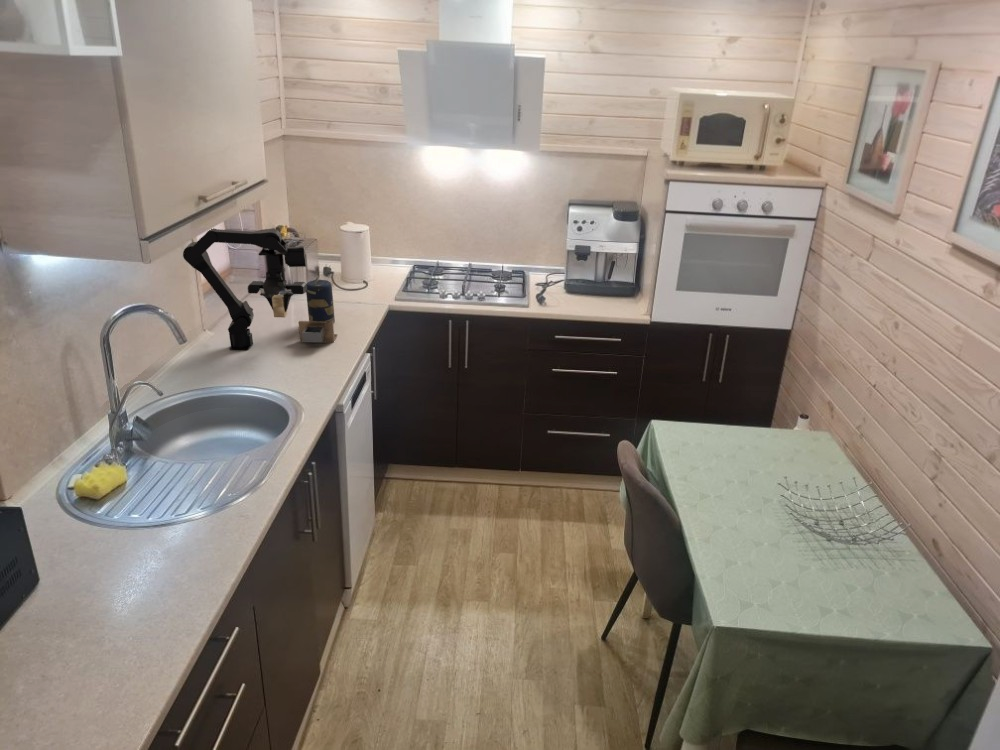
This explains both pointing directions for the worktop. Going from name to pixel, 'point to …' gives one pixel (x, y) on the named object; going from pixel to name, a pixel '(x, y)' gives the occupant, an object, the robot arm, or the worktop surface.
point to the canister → (320, 301)
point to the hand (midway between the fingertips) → (280, 311)
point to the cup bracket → (317, 331)
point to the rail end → (278, 306)
